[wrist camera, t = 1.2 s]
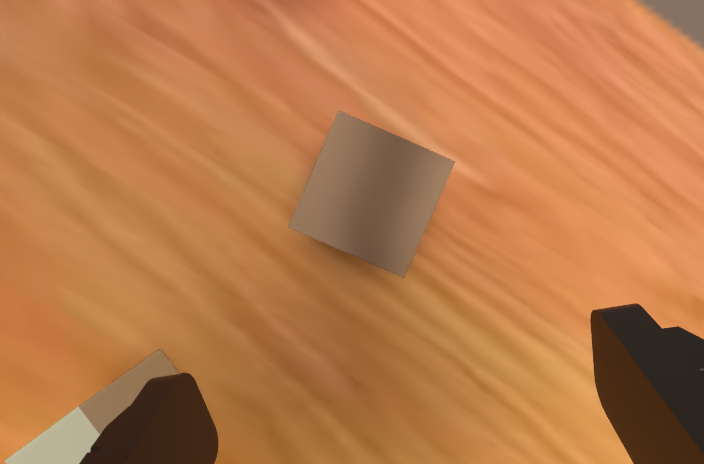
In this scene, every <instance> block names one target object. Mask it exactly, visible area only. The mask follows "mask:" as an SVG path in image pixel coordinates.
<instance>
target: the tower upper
mask: <svg viewBox="0 0 704 464" xmlns="http://www.w3.org/2000/svg"><path fill="white" fill-rule="evenodd" d="M454 163H455V161H453V160H451V159H449V158H446V157H444V156H442V155H439V154H437V153H435V152H433V151H430V150H428V149H426V148H424V147H421V146H419V145H417V144H414V143H412V142H410V141H408V140H405V139H403V138H401V137H398V136H396V135H394V134H392V133H389V132H387V131H385V130H383V129H380V128H378V127H376V126H373V125H371V124H369V123H367V122H364V121H362V120H360V119H357V118H355V117H353V116H351V115H348V114H346V113H344V112H342V111H339V110H338V113H337V115H336V117H335V120H334V122H333V124H332V127H331V129H330V131H329V134H328V136H327V138H326V141H325V143H324V145H323V148H322V150H321V152H320V154H319V157H318V159H317V161H316V164H315V166H314V168H313V171H312V173H311V175H310V178H309V180H308V182H307V185H306V187H305V189H304V192H303V194H302V196H301V199H300V201H299V203H298V206H297V208H296V210H295V213H294V215H293V217H292V220H291V222H290V224H289V227H288V228H291V229H293V230H295V231H298V232H300V233H302V234H304V235H307V236H309V237H311V238H314V239H316V240H318V241H321V242H323V243H325V244H327V245H330V246H332V247H334V248H337V249H339V250H341V251H344V252H346V253H348V254H351V255H353V256H355V257H357V258H360V259H362V260H364V261H367V262H369V263H371V264H374V265H376V266H378V267H380V268H383V269H385V270H387V271H390V272H392V273H394V274H397V275H399V276H401V277H405V275H406V272H407V270H408V268H409V265H410V263H411V261H412V259H413V256H414V254H415V252H416V250H417V247H418V245H419V243H420V241H421V238H422V236H423V234H424V231H425V229H426V227H427V225H428V222H429V220H430V218H431V216H432V213H433V211H434V209H435V207H436V204H437V202H438V200H439V197H440V195H441V193H442V191H443V188H444V186H445V184H446V182H447V179H448V177H449V175H450V173H451V170H452V168H453V166H454Z"/></svg>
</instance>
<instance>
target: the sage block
mask: <svg viewBox="0 0 704 464" xmlns="http://www.w3.org/2000/svg"><path fill="white" fill-rule="evenodd" d="M175 374H179V372H178V371H177V370H176V368H175V367H174V366H173V365H172V363H171V362H170V361H169V359H168V358H167V357H166V355H165V354H164V353H163V351H162V350H161V349H159V350H157V351H156V352H155V353H153V354H152V355H150V356H149V357H147V358H146V359H145V360H143V361H142V362H140V363H139V364H138V365H136V366H135V367H133V368H132V369H131V370H129V371H128V372H126V373H125V374H123V375H122V376H121V377H119V378H118V379H116V380H115V381H114V382H112V383H111V384H109V385H108V386H106V387H105V388H104V389H102V390H101V391H99V392H98V393H97V394H95V395H94V396H92V397H91V398H90V399H88V400H87V401H85V402H84V403H82V404H81V405H80V406H78V407H77V408H76V409H74V410H73V411H71V412H70V413H69V414H67V415H66V416H65V417H63V418H62V419H61V420H59V421H58V422H57V423H55V424H54V425H52V426H51V427H50V428H48V429H47V430H46V431H44V432H43V433H42V434H40V435H39V436H38V437H36V438H35V439H33V440H32V441H31V442H29V443H28V444H27V445H25V446H24V447H23V448H21V449H20V450H19V451H17V452H16V453H14V454H13V455H12V456H10V457H9V458H8V459H6V460H5V461H4V462H5V463H6V464H79V463H80V462H81V460H82V459H83V458H84V456H85V455H86V454H87V453H88V452H90V451H91V449H90V448H91V447H92V445H93V444H94V442H95V441H96V440H97V438H98V437H99V436H100V434H101V433H102V431H103V430H104V429H105V427H106V426H107V425H108V424H109V423H110V422H112V421H113V420H114V419H115V418H116V417H117V416H118V415H119V414H120V413H122V412H123V411H124V410H125V409H126V408H127V407H128V406H131V404H132V403H133V401H134V400H135V398H136V397H137V396H138V394H139V393H140V391H141V390H142V388H143V387H144V385H145V384H146V383H147V382H148V381H149V380H150V379H152V378H156V377H162V376H168V375H175Z"/></svg>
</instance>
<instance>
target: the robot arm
mask: <svg viewBox="0 0 704 464" xmlns="http://www.w3.org/2000/svg"><path fill="white" fill-rule="evenodd" d="M591 334H592V348H593V362H594V376H595V383H596V388H597V392H598V396H599V399H600V402H601V404H602V407H603V409H604V411H605V413H606V415H607V417H608V419H609V420H610V422H611V424H612V426H613V428H614V429H615V431H616V433H617V435H618V436H619V438H620V440H621V442H622V444H623V445H624V447H625V449H626V451H627V452H628V454H629V456H630V458H631V460H632V461H633V463H634V464H704V339H702V338H700V337H698V336H696V335H694V334H692V333H690V332H688V331H686V330H684V329H682V328H680V327H671V328H664V329H662V328H661V327H660V326H659V325H658V324H657V323H656V322H655V321H654V319H653V318H652V317H651V316H650V315H649V314H648V313H647V312H646V311H645V310H644V308H643V307H641V306H640V305H639V304H630V305H623V306H617V307H610V308H604V309H598V310H593V311H592V313H591ZM90 449H91V451H90V452H88V453H87V454H86V455H85V456H84V458H83V459H82V460H81V462H80V463H79V464H214V463H215V460H216V457H217V452H218V436H217V431H216V428H215V425H214V423H213V420H212V418H211V416H210V414H209V411H208V409H207V407H206V404H205V402H204V400H203V398H202V395H201V393H200V391H199V388H198V386H197V384H196V382H195V380H194V378H193V377H192V376H191V375H190V374H189V373H181V374H175V375H168V376H162V377H156V378H152V379H150V380H149V381H148V382H147V383H146V384H145V385H144V387H143V388H142V390H141V391H140V393H139V394H138V396H137V397H136V398H135V400H134V401H133V403H132V404H131V406H128V407H127V408H126V409H125V410H124V411H123V412H122V413H120V414H119V415H118V416H117V417H116V418H115V419H114V420H113V421H112V422H110V423H109V424H108V425H107V426H106V427H105V429H104V430H103V431H102V433H101V434H100V436H99V437H98V438H97V440H96V441H95V442H94V444H93V445H92V447H91V448H90Z"/></svg>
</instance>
